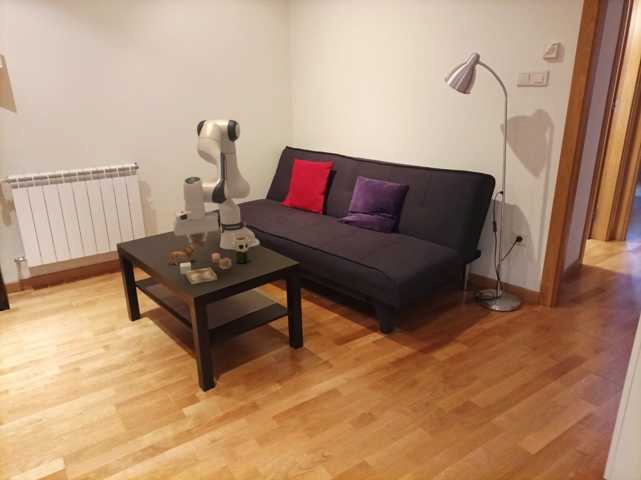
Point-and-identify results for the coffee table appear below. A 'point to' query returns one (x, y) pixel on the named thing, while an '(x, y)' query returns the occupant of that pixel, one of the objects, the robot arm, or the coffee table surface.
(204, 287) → the coffee table surface
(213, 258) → the pinkish tan rounded lump
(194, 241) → the walnut block
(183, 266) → the white plastic block
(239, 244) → the character mug
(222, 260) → the oak block
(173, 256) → the lion figurine
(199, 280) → the birch tray
